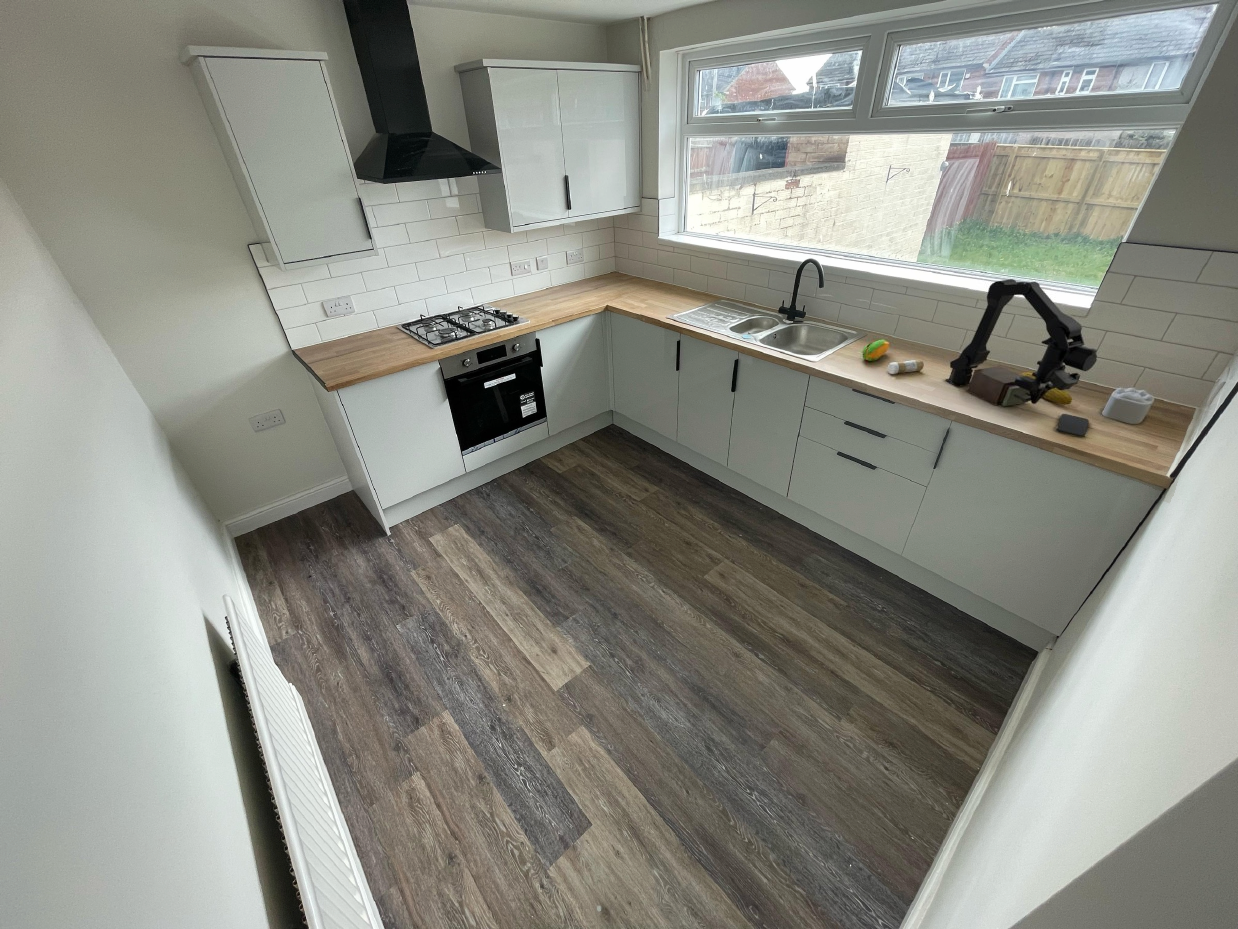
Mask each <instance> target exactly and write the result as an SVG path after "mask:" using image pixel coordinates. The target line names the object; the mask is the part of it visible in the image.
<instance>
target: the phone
mask: <svg viewBox="0 0 1238 929" xmlns="http://www.w3.org/2000/svg"><path fill="white" fill-rule="evenodd" d="M1089 422H1090V420H1089V419H1088V418H1085V417H1081V416H1078V415H1073V414H1068V413H1062V414H1061V415H1060V418H1059V422H1058V424H1057V428H1056V431H1057V432H1058V433H1062V434H1066V435H1070V436H1073V437H1078V438H1085V437H1086V435H1087V432H1088V427H1089Z"/></svg>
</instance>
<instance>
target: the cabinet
mask: <svg viewBox="0 0 1238 929" xmlns="http://www.w3.org/2000/svg"><path fill="white" fill-rule="evenodd" d="M1018 377H1023V375H1020V373H1018V372H1016V371H1013V370H1011V369H1008V368H1006V367H1003V366H1001V365H995V366H991V367H984V368H979V369H978V368H976V369H973V372H972V377H971V380H970V384H969V385H968V387H967V389H966V391H967V392H968V393H970V394H972V395H974V396H975V397H978V398H980V399H982V400H984V401H986V402H988V403H990V404H992V405H994V406H999V405H1002V404H1003V402H999V399H1000V397H1001V394H1002V392H1003V389H1004V387H1005V385H1007V384H1013V383H1014V381H1015V379H1016V378H1018Z"/></svg>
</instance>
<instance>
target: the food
mask: <svg viewBox="0 0 1238 929" xmlns="http://www.w3.org/2000/svg"><path fill="white" fill-rule="evenodd" d="M1032 373H1033V372H1027V371H1025V372H1022V373H1021V374H1020V373H1019V374H1020V375H1023V376H1029V377H1031V378H1035V377H1034V376H1032ZM1042 398H1044V399H1046V400H1048V401H1050V402H1052V403H1055V404H1058V405H1063V406H1067V405H1071V403H1072V401H1073V397H1072V395H1071V394H1070V393H1069V392H1068V391H1067V390H1062V391H1061V390H1058V389H1057V388H1054V389H1051V390H1049V391H1048V392H1047V393H1046V394H1045V395H1044V396H1043V397H1042Z"/></svg>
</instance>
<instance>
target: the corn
mask: <svg viewBox="0 0 1238 929" xmlns="http://www.w3.org/2000/svg"><path fill="white" fill-rule="evenodd" d="M889 348H890V343H889V342H888V341H886V339H879V340H876V341H874V342H870V343H868V344H866V345H865V346H864V347H863V349H862V351H861V353H862V358H863V359H864V360H865V361H869V362H874V361H878V360H879V359H880V358H883V357H884V356H885V354H886V352H887V351H888V349H889Z"/></svg>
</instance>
